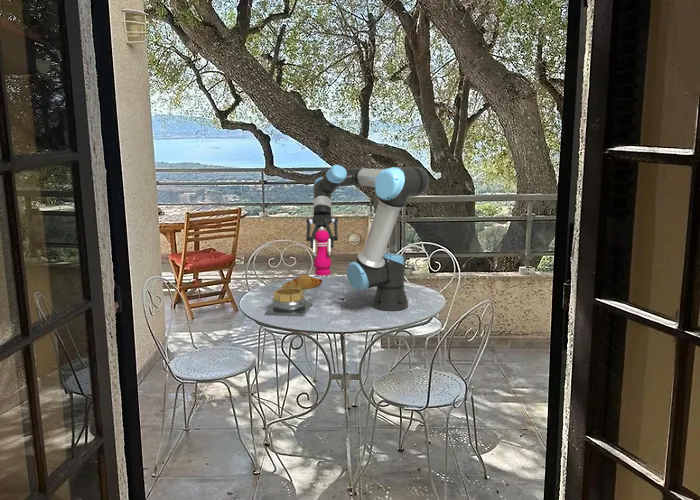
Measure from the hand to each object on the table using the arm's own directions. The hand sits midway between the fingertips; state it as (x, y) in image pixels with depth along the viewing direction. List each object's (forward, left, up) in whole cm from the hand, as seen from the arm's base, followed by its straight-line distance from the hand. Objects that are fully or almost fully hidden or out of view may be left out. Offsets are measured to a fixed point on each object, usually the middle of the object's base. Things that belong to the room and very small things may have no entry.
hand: (322, 253), depth 252 cm
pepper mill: (+1, -4, -10) cm, 10 cm away
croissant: (+19, -42, -26) cm, 53 cm away
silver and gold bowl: (+16, -4, -25) cm, 30 cm away
